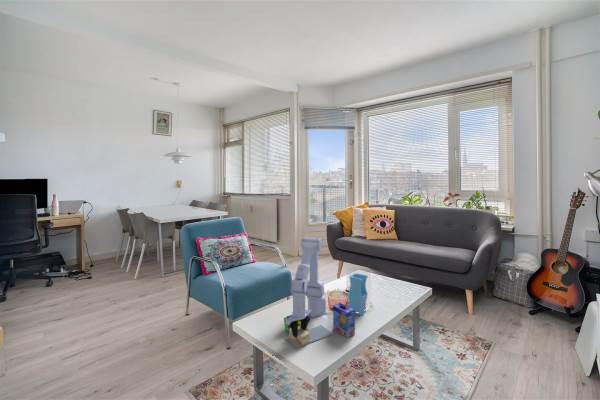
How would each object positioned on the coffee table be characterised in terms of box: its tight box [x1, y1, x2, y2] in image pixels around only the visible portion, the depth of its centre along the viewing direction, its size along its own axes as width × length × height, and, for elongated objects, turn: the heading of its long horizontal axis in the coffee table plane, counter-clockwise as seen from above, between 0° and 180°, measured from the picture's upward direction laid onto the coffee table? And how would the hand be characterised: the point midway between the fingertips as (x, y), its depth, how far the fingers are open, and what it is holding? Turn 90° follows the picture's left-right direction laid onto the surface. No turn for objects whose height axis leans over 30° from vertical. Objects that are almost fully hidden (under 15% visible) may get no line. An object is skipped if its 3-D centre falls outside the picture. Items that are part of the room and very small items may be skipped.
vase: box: [347, 272, 368, 316], centre depth 162 cm, size 8×8×20 cm
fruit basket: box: [283, 314, 308, 333], centre depth 142 cm, size 11×9×11 cm
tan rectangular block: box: [288, 326, 310, 346], centre depth 134 cm, size 9×4×4 cm, turn 43°
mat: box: [284, 324, 334, 350], centre depth 137 cm, size 21×10×1 cm, turn 122°
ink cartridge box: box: [332, 302, 356, 338], centre depth 141 cm, size 10×6×14 cm, turn 38°
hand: (299, 334), depth 134 cm, fingers closed on tan rectangular block, 4 cm apart
